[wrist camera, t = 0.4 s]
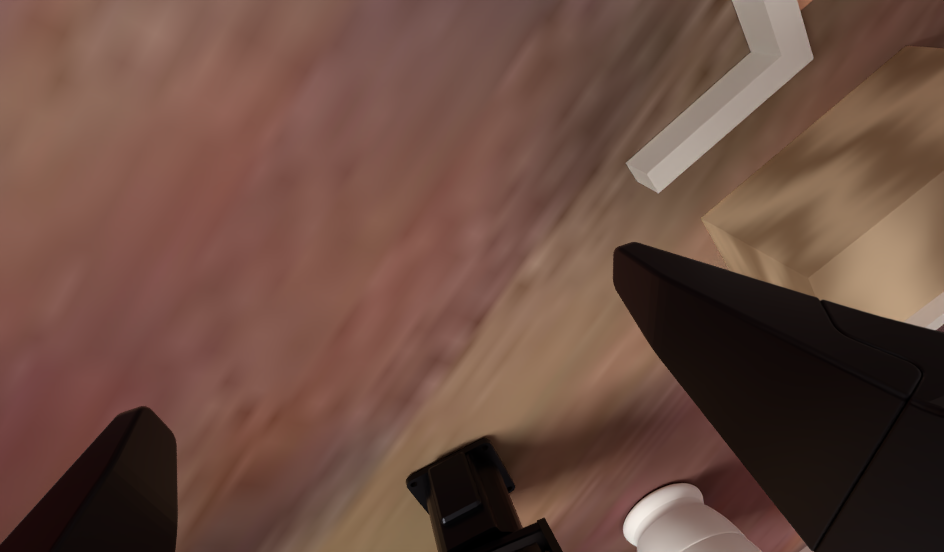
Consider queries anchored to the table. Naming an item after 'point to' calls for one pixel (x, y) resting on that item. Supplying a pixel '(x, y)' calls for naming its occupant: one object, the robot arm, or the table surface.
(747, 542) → the jar
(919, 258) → the oak block
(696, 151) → the white flat frame
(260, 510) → the table surface
